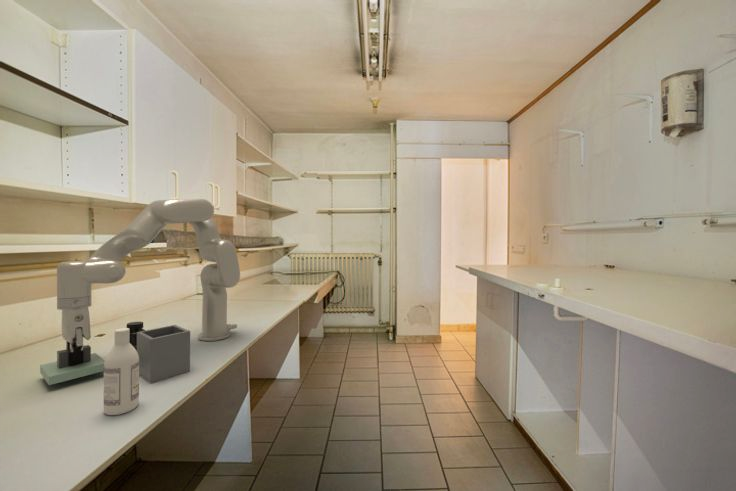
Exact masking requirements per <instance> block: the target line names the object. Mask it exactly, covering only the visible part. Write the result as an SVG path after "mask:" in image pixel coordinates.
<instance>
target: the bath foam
mask: <svg viewBox="0 0 736 491" xmlns="http://www.w3.org/2000/svg"><path fill="white" fill-rule="evenodd" d="M129 338H130V329H129V328H126V327H121V328H117V329H115V330H114V345H113V346H112V347H111V348H110V350H109V352H108V353H107V355H106V356H105V359H104V360H105V362H104V371H103V414H105V415H107V416H118V415H123V414H126V413H128V412H131V411H132V410H134V409H135V408H137V406H138V405H139V403H140V400H139V399H140V376H139V356H138V353H137V351H136V349H135V348H134V347H133V346H132V345H131V344H130V343H129Z"/></svg>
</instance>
